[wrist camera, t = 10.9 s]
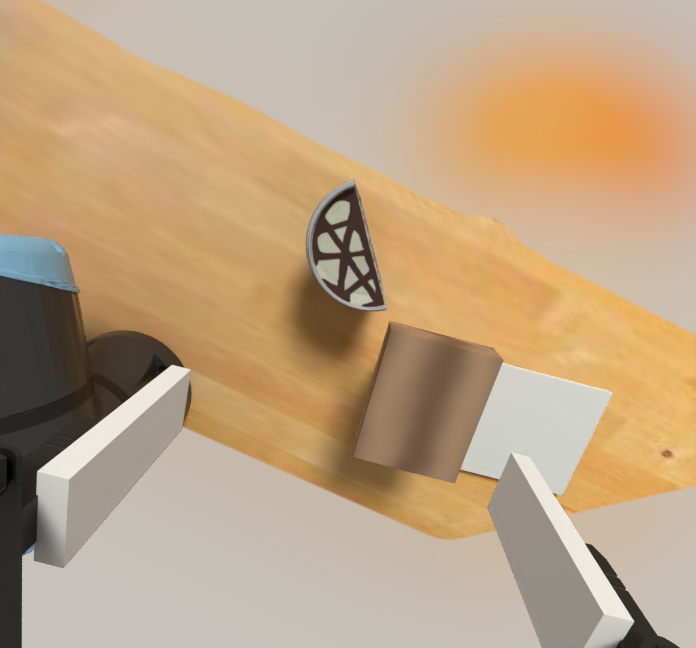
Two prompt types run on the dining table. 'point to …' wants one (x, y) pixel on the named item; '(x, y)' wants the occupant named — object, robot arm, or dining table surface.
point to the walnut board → (425, 401)
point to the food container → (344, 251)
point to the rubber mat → (535, 425)
